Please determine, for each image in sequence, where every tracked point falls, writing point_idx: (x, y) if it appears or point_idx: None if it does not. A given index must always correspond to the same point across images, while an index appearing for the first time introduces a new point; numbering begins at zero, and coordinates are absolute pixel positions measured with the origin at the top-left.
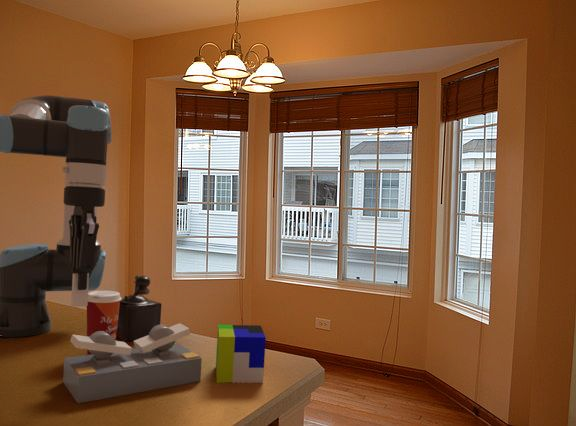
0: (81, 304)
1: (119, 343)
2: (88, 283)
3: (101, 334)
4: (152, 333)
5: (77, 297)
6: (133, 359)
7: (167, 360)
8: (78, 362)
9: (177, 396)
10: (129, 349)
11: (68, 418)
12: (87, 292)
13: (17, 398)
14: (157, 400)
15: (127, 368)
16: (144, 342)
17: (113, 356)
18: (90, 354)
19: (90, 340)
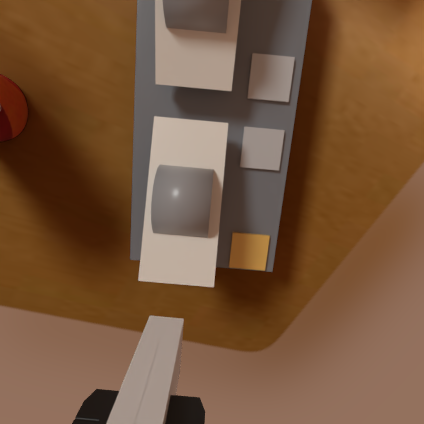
0: (181, 346)
1: (182, 144)
2: (166, 406)
3: (193, 215)
4: (189, 18)
5: (175, 389)
6: (224, 118)
7: (282, 34)
8: None
9: (347, 69)
10: (226, 131)
11: (312, 281)
12: (174, 364)
13: (183, 322)
14: (339, 118)
15: (281, 161)
16: (204, 66)
17: None
18: (4, 139)
19: (190, 242)
